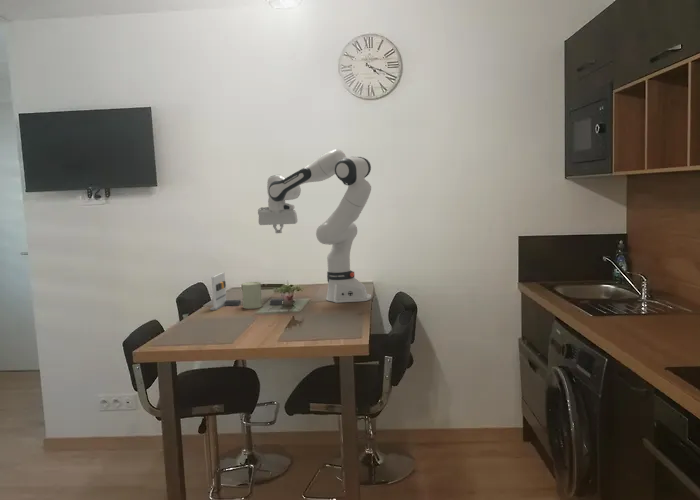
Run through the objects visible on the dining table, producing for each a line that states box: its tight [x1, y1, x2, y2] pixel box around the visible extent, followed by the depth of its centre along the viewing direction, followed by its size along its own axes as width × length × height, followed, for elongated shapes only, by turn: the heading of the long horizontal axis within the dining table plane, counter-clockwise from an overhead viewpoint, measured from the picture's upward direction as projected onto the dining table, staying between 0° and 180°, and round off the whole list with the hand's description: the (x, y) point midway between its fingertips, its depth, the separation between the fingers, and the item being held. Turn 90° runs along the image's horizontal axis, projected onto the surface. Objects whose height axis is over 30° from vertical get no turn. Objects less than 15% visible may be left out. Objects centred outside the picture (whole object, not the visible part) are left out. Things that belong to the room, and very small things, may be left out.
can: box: [241, 281, 263, 310], centre depth 283 cm, size 9×9×12 cm
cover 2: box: [269, 298, 284, 306], centre depth 286 cm, size 6×3×3 cm, turn 82°
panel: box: [209, 272, 227, 311], centre depth 286 cm, size 4×14×16 cm, turn 172°
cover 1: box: [224, 299, 242, 307], centre depth 290 cm, size 7×3×3 cm, turn 82°
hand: (278, 233), depth 305 cm, fingers closed
